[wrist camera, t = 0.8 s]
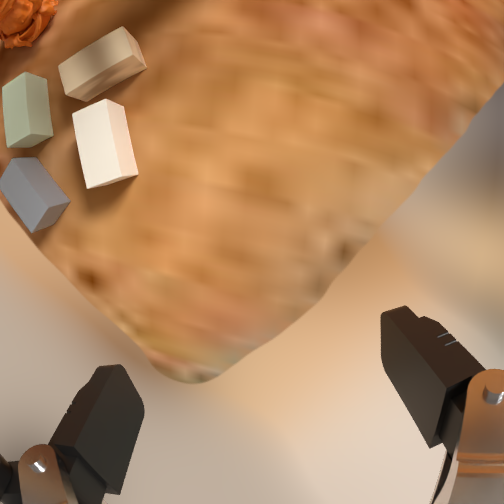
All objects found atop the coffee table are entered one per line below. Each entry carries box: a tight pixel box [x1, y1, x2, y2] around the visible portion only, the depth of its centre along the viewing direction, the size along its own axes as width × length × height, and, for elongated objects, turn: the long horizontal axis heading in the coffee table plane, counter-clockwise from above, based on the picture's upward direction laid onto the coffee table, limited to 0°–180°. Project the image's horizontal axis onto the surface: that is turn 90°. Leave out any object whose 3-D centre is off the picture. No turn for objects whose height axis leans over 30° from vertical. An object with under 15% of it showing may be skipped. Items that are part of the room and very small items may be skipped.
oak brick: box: [58, 26, 147, 102], centre depth 25 cm, size 8×4×5 cm, turn 111°
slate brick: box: [0, 157, 71, 233], centre depth 28 cm, size 8×4×5 cm, turn 41°
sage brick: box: [2, 72, 54, 148], centre depth 26 cm, size 8×4×5 cm, turn 12°
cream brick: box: [72, 99, 139, 189], centre depth 28 cm, size 8×4×5 cm, turn 13°
